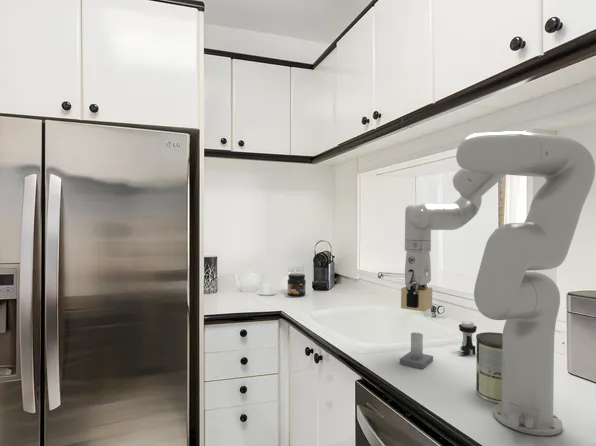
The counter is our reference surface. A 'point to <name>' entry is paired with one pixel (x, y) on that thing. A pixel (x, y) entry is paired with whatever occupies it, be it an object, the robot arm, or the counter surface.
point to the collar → (423, 298)
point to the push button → (467, 338)
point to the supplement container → (296, 285)
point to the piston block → (416, 353)
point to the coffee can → (489, 366)
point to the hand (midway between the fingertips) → (416, 304)
